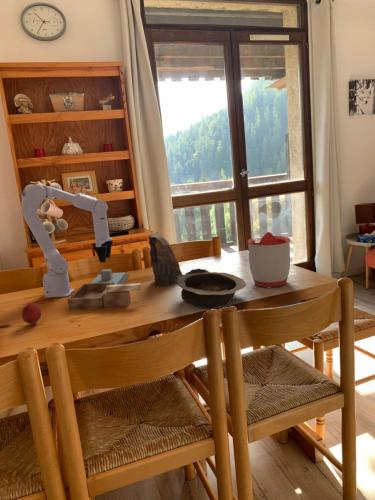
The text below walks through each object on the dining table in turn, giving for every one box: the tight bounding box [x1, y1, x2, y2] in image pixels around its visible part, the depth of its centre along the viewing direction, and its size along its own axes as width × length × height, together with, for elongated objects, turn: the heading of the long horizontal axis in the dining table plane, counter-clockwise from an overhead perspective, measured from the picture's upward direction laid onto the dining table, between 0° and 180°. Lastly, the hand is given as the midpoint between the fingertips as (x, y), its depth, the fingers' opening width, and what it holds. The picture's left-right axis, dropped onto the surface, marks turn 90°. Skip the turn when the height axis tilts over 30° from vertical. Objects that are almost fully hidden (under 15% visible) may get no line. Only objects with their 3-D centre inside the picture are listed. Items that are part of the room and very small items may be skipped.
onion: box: [21, 300, 42, 325], centre depth 127 cm, size 6×6×8 cm
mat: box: [118, 273, 131, 285], centre depth 168 cm, size 15×20×1 cm
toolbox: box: [67, 282, 132, 311], centre depth 145 cm, size 21×18×5 cm
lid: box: [90, 268, 127, 285], centre depth 167 cm, size 12×18×5 cm, turn 177°
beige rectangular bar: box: [106, 282, 142, 292], centre depth 138 cm, size 12×2×2 cm, turn 87°
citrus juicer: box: [247, 231, 291, 288], centre depth 148 cm, size 16×17×20 cm
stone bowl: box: [174, 268, 247, 309], centre depth 136 cm, size 25×25×9 cm
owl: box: [147, 231, 184, 288], centre depth 160 cm, size 13×13×20 cm
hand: (105, 259), depth 165 cm, fingers open, 7 cm apart
